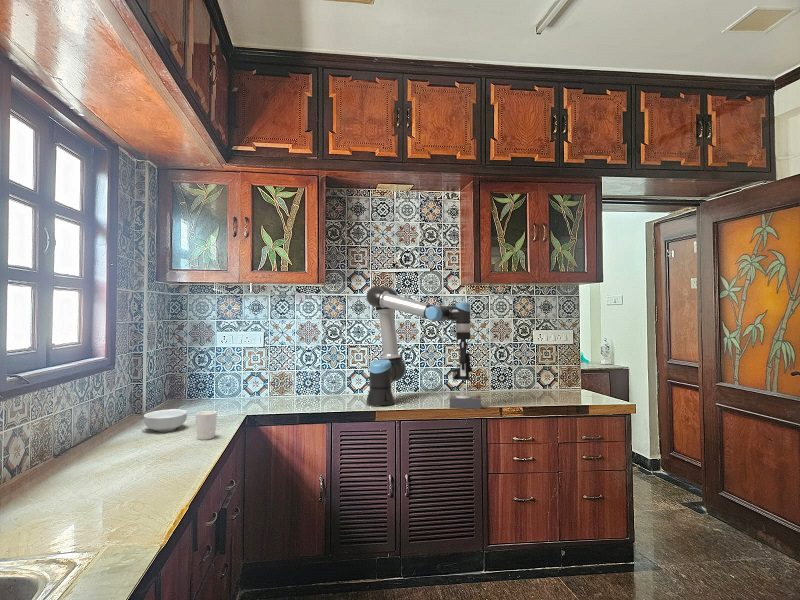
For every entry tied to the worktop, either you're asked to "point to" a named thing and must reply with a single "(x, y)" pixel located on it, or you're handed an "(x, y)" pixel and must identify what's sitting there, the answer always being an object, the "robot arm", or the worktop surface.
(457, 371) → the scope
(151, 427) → the cereal bowl
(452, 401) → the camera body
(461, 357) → the robot arm
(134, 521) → the worktop surface
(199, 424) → the white cup
